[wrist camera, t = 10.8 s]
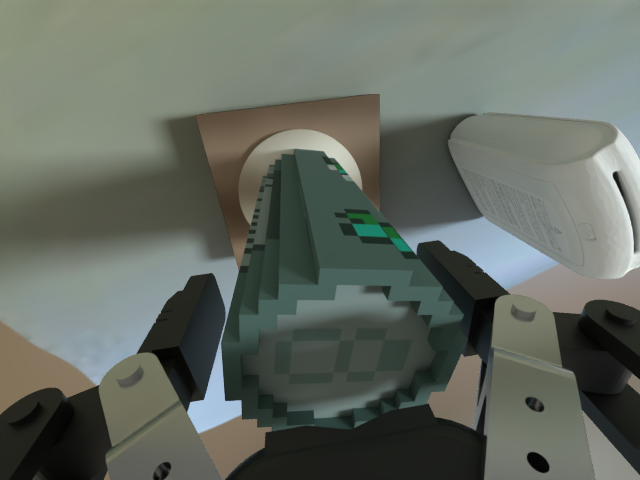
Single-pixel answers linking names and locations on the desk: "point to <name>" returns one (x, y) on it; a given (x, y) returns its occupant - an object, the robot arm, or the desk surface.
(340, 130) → the base
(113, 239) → the desk surface
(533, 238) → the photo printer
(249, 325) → the can
